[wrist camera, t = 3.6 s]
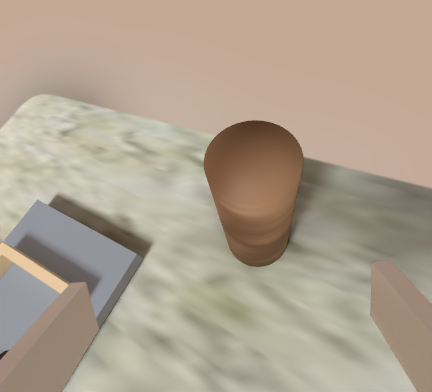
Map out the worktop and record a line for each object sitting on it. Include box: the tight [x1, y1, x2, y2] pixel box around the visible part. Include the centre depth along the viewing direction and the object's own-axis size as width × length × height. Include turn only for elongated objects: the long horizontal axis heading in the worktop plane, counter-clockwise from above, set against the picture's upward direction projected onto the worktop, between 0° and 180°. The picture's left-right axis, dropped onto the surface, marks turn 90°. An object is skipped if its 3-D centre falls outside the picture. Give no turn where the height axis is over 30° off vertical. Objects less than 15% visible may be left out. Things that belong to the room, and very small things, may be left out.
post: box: [204, 121, 303, 267], centre depth 21 cm, size 5×5×12 cm
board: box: [0, 200, 143, 354], centre depth 24 cm, size 12×18×3 cm, turn 152°
